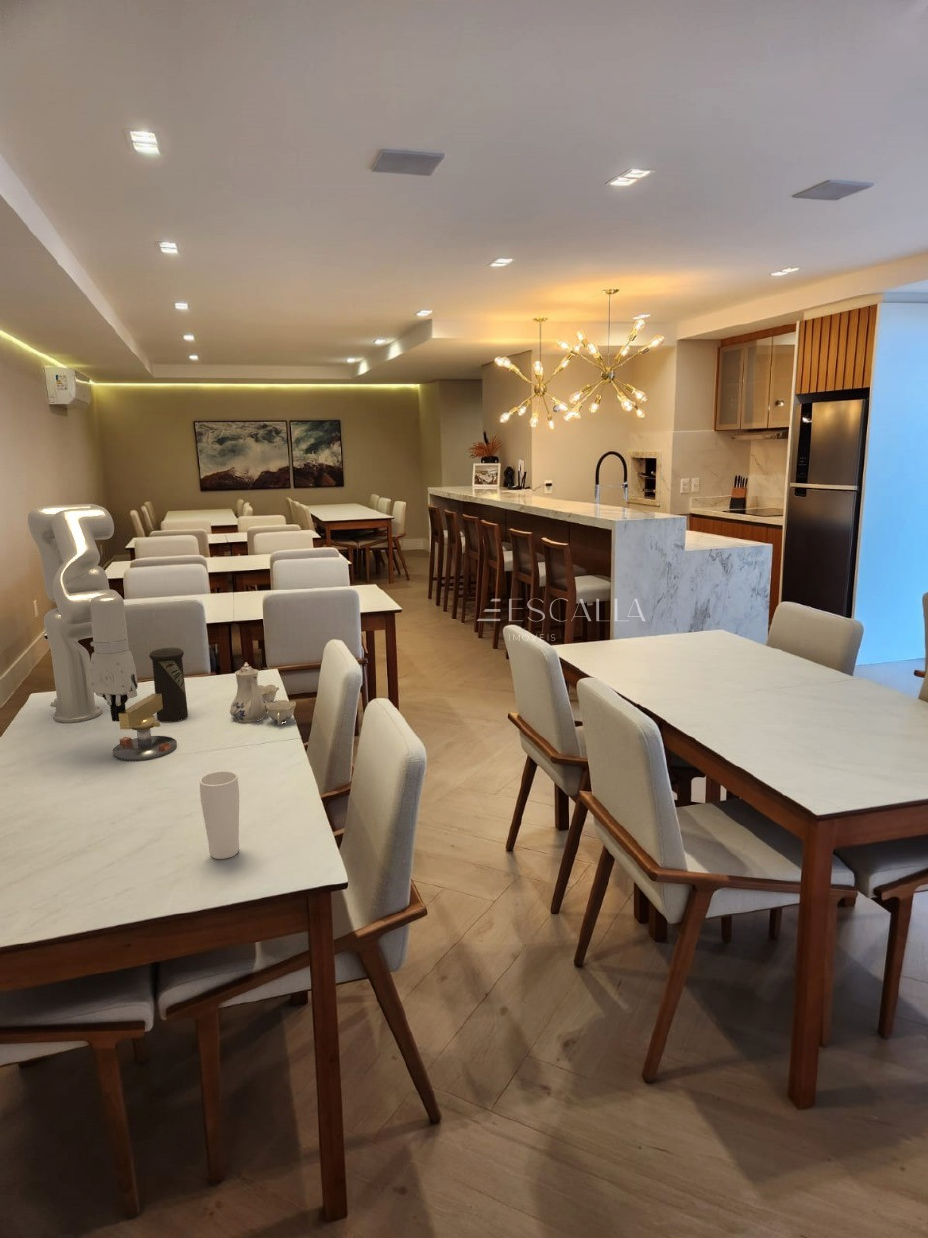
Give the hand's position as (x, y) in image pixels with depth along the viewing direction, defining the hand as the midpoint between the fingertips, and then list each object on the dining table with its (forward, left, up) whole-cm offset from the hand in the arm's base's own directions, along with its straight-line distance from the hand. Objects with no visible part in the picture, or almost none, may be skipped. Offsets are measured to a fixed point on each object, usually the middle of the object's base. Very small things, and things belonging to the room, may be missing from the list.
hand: (119, 719), depth 194 cm
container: (-9, +28, -10) cm, 31 cm away
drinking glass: (+55, -30, -10) cm, 63 cm away
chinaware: (+13, +38, -10) cm, 41 cm away
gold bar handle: (+2, +6, -3) cm, 7 cm away
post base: (+2, +6, -10) cm, 11 cm away
